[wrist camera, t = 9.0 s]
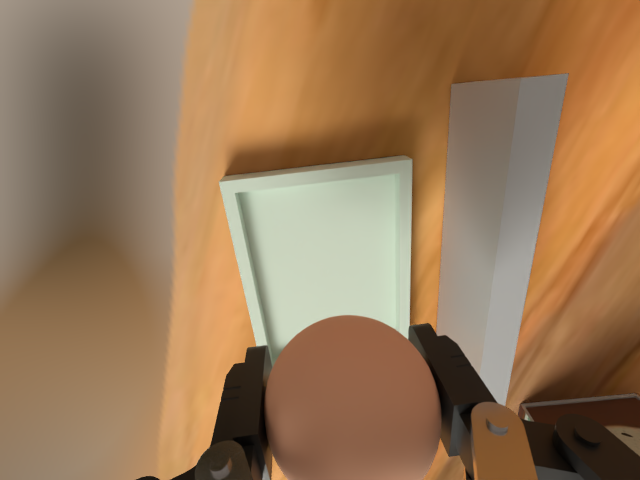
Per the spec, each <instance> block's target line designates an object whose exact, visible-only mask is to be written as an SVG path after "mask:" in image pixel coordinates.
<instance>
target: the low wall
mask: <svg viewBox="0 0 640 480" xmlns="http://www.w3.org/2000/svg"><path fill="white" fill-rule="evenodd" d="M568 74H569V73H567V74H555V75H543V76H531V77H519V78H507V79H496V80H484V81H475V82H466V83H457V84H451V99H450V116H449V132H448V149H447V166H446V182H445V199H444V215H443V232H442V249H441V265H440V282H439V298H438V315H437V331H436V334H437V336H441V335H446V336H448V337H449V338H450V339H452V340H453V341H454V342H456V343H457V344H458V345H459V347H460V348H461V350H462V351H463V353H464V354H465V357H467V359H468V360H469V362H470V363H471V366H473V367H474V369H475V370H476V372H477V373H478V375H479V376H480V378H481V379H482V381H483V382H484V384H485V385H486V387H487V388H488V390H489V391H490V392H491V394H492V395H493V397H494V398H495V400H496V401H497V402H498V404H501V405H504V406H505V403H506V397H507V392H508V387H509V382H510V377H511V371H512V366H513V361H514V356H515V351H516V345H517V340H518V335H519V330H520V325H521V319H522V314H523V309H524V304H525V298H526V293H527V288H528V283H529V278H530V272H531V267H532V262H533V257H534V252H535V246H536V241H537V236H538V231H539V225H540V220H541V215H542V210H543V205H544V199H545V194H546V189H547V184H548V179H549V173H550V168H551V163H552V158H553V152H554V147H555V142H556V137H557V132H558V126H559V121H560V116H561V111H562V106H563V100H564V95H565V90H566V85H567V80H568Z"/></svg>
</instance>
